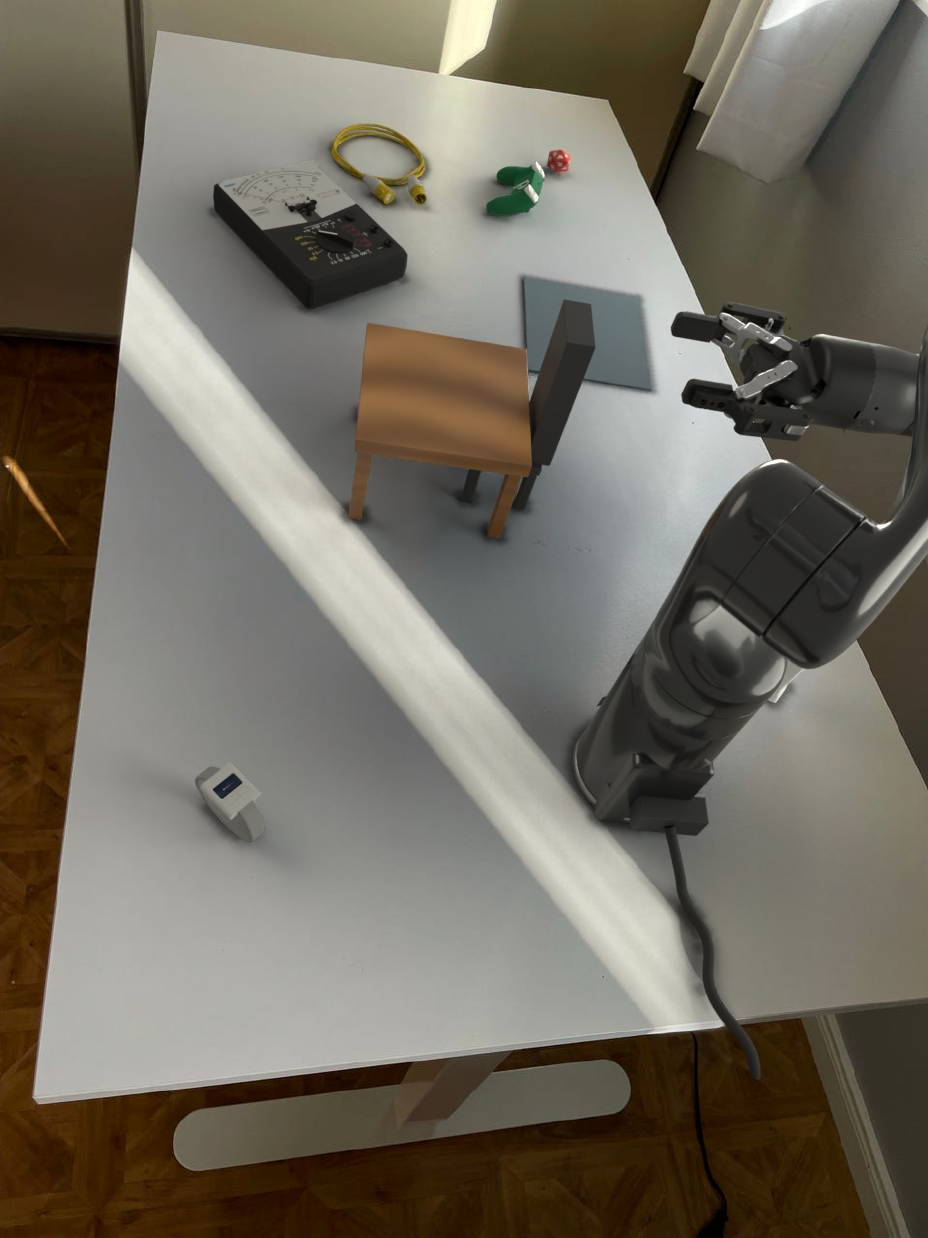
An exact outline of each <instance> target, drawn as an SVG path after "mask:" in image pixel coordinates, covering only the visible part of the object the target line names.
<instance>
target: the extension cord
mask: <svg viewBox="0 0 928 1238" xmlns="http://www.w3.org/2000/svg"><path fill="white" fill-rule="evenodd" d="M357 131H373V132H358V133H354V132H357ZM374 131H375V132H374ZM377 132H378V133H377ZM352 133H353V134H352ZM349 134H350V135H349ZM365 136H372V137H373V136H374V137H378V138H379V137H380V138H384V139H387V140H390V141H394V142H395V143H398V144H400V145H402V146H404V147H406V148H407V149H409V150H410V151H411V152H412V153H414V155H415V156H416V157H417V159H418V160H419V165H418V167H416V168H415V169H413V170H412V171H410V172H409V173H407V174H405V175H404V176H402V177H397V178H389V177H388V178H387V177H381V176H376V175H375V176H374V175H371V174H369V173H363V172H361V171H360V170H358V169H357V168H356V167H354V166H353V165H351V164H350V163H349V161H346V159H344V158H343V157H342V156H341V155H340V154H339V153H338V151H337V148H338V147H339V146H340V145H341V144H342V143H344V142H346V141H347V140H350V139H353V138H357V137H365ZM331 156H332V158H333V160H334V161H335V162H336V163H337V164H338V165H339V166H340V167H341V168H342V169H344V170H345V171H346V172H347V173H348V174H350V175H351V176H353V177H356V178H359V179H362V183H363V184H364V186H365V187H366V188H367V189H368V191H369V192H370V193H371V195H373V196H374V197H376V198H377V199H378V200H379V201H381V202H382V203H383V204H384V205H388V204H390V203H391V202H394V199H395V197H396V195H395V191H394V190H392V189H391V188H390V187H389V186H402V185H405V184H407V192H408V194H409V195H410V197H411V198H412V199H413V202H414V203H415V204H416V205H418V206H421V205H425V203H426V201H427V195H426V193H425V187H424V184H423V183H422V181H420V180H419V179H418V178H420V177H422V175H423V174H424V172H425V170H426V162H425V160H424V157H423V154H422V153H421V150H420V149H419V148H418V147H417V146H416V145H415V144H414V143H413V142H412V141H411V140H410V139H409V138H407V136H405V135H404V134H402V133H400V132H399V131H397V130H394V129H392V128H391V127H387V126H385V125H381V124H377V123H357V124H352V125H349V126H347V127H345V128H343V129H342V130H341V131H340V132H338V133H337V135H336V136H335V138H334V140H333V143H332V148H331Z"/></svg>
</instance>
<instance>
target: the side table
mask: <svg viewBox="0 0 928 1238" xmlns="http://www.w3.org/2000/svg"><path fill="white" fill-rule="evenodd" d="M362 357H363V358H362V366H361V367H362V368H361V377H360V378H361V379H360V388H359V389H360V390H359V397H358V409H357V418H356V429H355V438H354V449H353V452H354V453H356V454H357V456H356V464H355V469H354V476H353V480H352V481H353V482H352V488H351V494H350V495H351V496H350V501H349V507H348V515H347V517H348V519H350V520H351V519H352V520H359V521H360V520H362V518H363V511H364V506H365V500H366V495H367V489H368V484H369V478H370V472H371V467H372V461H373V456H377V457H383V458H384V457H385V458H390V459H398V460H404V461H405V460H406V461H413V462H420V463H425V464H431V465H433V464H434V465H439V466H445V467H446V466H447V467H454V468H459V469H467V470H469V469H473V470H480V471H481V472H486V473H487V472H488V473H494V474H501V475H504V477H503V478H502V479H503V480H502V483H501V485H500V488H499V491H498V493H497V494H498V495H497V498H496V500H495V503H494V505H493V506H494V507H493V510H492V512H491V515H490V519H489V521H488V524H487V528H486V536H487V538H490V539H491V538H492V539H500V538H501V536H502V533H503V530H504V528H505V525H506V522H507V519H508V516H509V515H510V514H509V513H510V511H511V508H512V506H513V504H514V503H513V502H514V501H515V498H516V495H517V492H518V490H519V487H520V484H521V481H522V478H523V477H528V475H529V472H530V469H531V467H532V459H531V435H530V411H529V401H530V392H529V391H530V390H529V387H530V386H529V371H528V364H527V348H522V347H517V346H511V345H505V344H499V343H493V342H486V341H481V340H474V339H470V338H469V339H468V338H463V337H458V336H451V335H445V334H439V333H432V332H428V331H421V330H414V329H409V328H403V327H398V326H389V325H384V324H379V323H371V322H367V324H366V331H365V337H364V348H363V356H362Z"/></svg>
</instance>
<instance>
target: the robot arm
mask: <svg viewBox="0 0 928 1238" xmlns="http://www.w3.org/2000/svg"><path fill="white" fill-rule="evenodd" d="M734 316H736V317H740V318H743V319H742V321H740V320H739V319H737V318H736V317H734ZM787 321H788V316H787V315H786V314H785V313H783V312H780V311H775V310H771V309H766V308H762V307H758V306H753V305H748V304H743V303H740V302H739V303H738V302H735V301H729V300H726V301H724V302H723V304H722V306H721V308H720V311H719V312H718V314H717V315H710V314H704V313H698V312H693V311H688V310H687V311H679V312H678V313H676V314H675V316H674V319H673V321H672V323H671V325H670V333H671V336H672V337H674V338H679V339H685V340H691V341H697V342H702V343H703V342H704V343H708V344H710V343H713V344H714V345H716V346H717V347H719V348H721V349H722V350H724V351H725V352H727V357H728V359H729V360H730V361H732V362H733V363H735V364H736V365H738V366H739V370H740V372H741V374H742V375H743V384H742V385H740V386H737V387H736V388H735V389H734V388H733V384H729V383H724V382H719V381H718V382H717V381H711V380H705V379H699V378H690V379H689V380H687V382H686V384H685V385H684V388H683V389H682V392H681V394H680V396H681V402H682V404H683V405H687V406H691V407H692V408H695V409H700V410H701V409H702V410H706V411H711V412H719V413H723V415H724V416H725V417H726V418H728V419H731V420H732V421H733V423H734V426H733V431H734V432H735V433H736V434H737V435H739V436H745V437H754V438H761V439H770V440H771V439H772V440H781V441H788V442H799V441H800V440H801V438H802V437H803V435H805V433H806V432H807V430H808V429H809V427H810V425H814V426H822V427H827V428H833V429H840V430H845V431H852V432H858V433H865V434H866V433H867V434H886V435H896V436H903V437H909V438H911V439H910V445H909V448H908V449H909V450H908V453H907V454H908V455H907V458H906V463H905V468H904V471H903V474H902V478H901V481H900V484H899V487H898V490H897V492H896V495H895V497H894V500H893V502H892V504H891V506H890V508H889V510H888V513H887V516H886V518H885V519H884V521H882V522H877V521H875V520H873V519H872V518H871V517H868V516H867V514H866V513H864V512H863V511H862V510H861V509H859V508H858V507H856V506H855V505H853V504H852V503H851V502H850V501H848V500H847V499H845V498H844V497H843V496H842V495H840V494H839V493H837V492H836V491H834V490H833V489H832V488H831V487H829V486H828V485H827V484H825V483H824V482H822V481H821V480H820V479H818V478H817V477H816V476H814V475H813V474H812V473H810V472H809V471H808V470H806V469H804V468H803V467H802V466H800V465H799V464H797V463H796V462H793V461H792V460H789V459H785V458H774V459H771V460H769V461H765V462H763V463H761V464H759V465H757V466H756V467H754V468H752V469H750V470H749V471H748V472H747V473H746V474H744V475H743V476H742V477H741V478H740V479H739V480H738V481H737V482H736V483H735V484H733V486H732V487H731V488H730V489H729V491H727V493H726V494H725V496H723V498H722V499H721V501H720V502H719V504H718V505H717V506H716V508H715V509H714V511H713V512H712V513H711V514H710V516H709V518H708V519H707V521H706V523H705V525H704V526H703V528H702V530H701V531H700V533H699V535H698V536H697V538H696V541H695V542H694V545H693V546H692V548H691V550H690V552H689V555H688V556H687V558H686V560H685V562H684V563H683V564H684V565H683V566H682V569H681V570H680V572H679V574H678V576H677V578H676V580H675V582H674V584H672V588H671V589H670V591H669V593H668V595H667V596H666V597H665V600H664V601H663V603H662V604H661V606H660V607H659V610H658V612H657V613H656V616H655V617H654V619H653V621H652V623H651V624H650V626H649V628H648V629H647V631H646V632H645V634H644V636H643V637H642V639H641V640H640V642H639V643H638V645H637V647H635V650H634V651H633V653H632V655H631V656H630V657H629V659H628V661H627V662H626V664H625V665H624V667H623V669H622V671H621V672H620V674H619V675H618V677H617V678H616V680H615V681H614V683H613V685H612V686H611V688H610V689H609V691H608V693H607V695H606V696H605V695H604V696H603V697H601V699H600V700H599V702H598V703H597V705H596V707H598V709H597V710H596V712H595V714H594V715H593V717H592V719H591V720H590V722H589V724H588V725H587V727H585V729H584V730H583V731H582V733H581V734H580V736H579V737H578V739H577V740H576V743H575V745H574V748H573V752H572V760H571V761H572V762H571V765H572V772H573V776H574V780H575V782H576V785H577V787H578V788H579V790H580V792H581V793H582V795H583V797H585V799H586V800H587V801H588V802H589V803H590V804H591V805H592V807H593V811H594V818H595V819H596V820H598V821H607V822H617V823H625V824H630V830H631V831H634V832H635V831H637V832H647V833H659V834H665V838H666V842H667V846H668V851H669V857H670V862H671V865H672V869H673V875H674V880H675V889H676V893H677V898H678V900H679V902H680V905H681V907H682V909H683V911H684V913H685V914H686V916H687V918H688V919H689V920H690V922H691V923H692V925H693V927H694V928H695V930H696V932H697V935H698V937H699V938H700V939H699V940H700V941H701V942H700V943H701V947H702V968H701V969H702V974H701V977H702V983H703V988H704V992H705V994H706V997H707V999H708V1001H709V1003H710V1005H711V1007H712V1009H713V1010H714V1012H715V1014H716V1015H717V1016H718V1017H719V1019H720V1021H721V1022H722V1023H723V1024H724V1026H726V1028H727V1029H728V1030H729V1031H730V1033H731V1034H732V1035H733V1037H734V1038H735V1039H736V1041H737V1042H738V1044H739V1045H740V1047H741V1049H742V1050H743V1052H744V1054H745V1057H746V1061H747V1065H748V1072H749V1074H750V1077H751V1078H752V1079H753V1080H756V1081H757V1080H760V1079H761V1073H762V1072H761V1063H760V1058H759V1054H758V1051H757V1048H756V1047H755V1045H754V1043H753V1041H752V1039H751V1038H750V1036H749V1035H748V1033H747V1031H745V1029H744V1028H743V1027H742V1025H741V1024H740V1023H739V1022H738V1020H736V1019H735V1017H734V1016H733V1014H732V1013H731V1012H730V1011H729V1009H728V1008H727V1007H726V1005H725V1004H724V1002H723V1001H722V999H721V997H720V995H719V992H718V990H717V986H716V984H715V977H714V972H715V971H714V969H715V948H714V941H713V938H712V936H711V933H710V930H709V928H708V926H707V924H706V923H705V921H704V919H703V918H702V916H701V915H700V914H699V912H698V910H697V908H696V906H695V905H694V904H693V902H692V899H691V896H690V893H689V891H688V885H687V877H686V871H685V866H684V862H683V858H682V851H681V848H680V843H679V838H678V835H681V836H690V837H691V836H692V837H696V836H698V835H700V833H701V832H702V831H703V830H704V829H705V828H706V827H707V826H708V825H709V824H710V821H709V814H708V809H707V808H708V807H707V801H706V797H705V796H697V795H698V793H700V792H701V790H702V789H703V788H704V787H705V786H706V785H707V784H708V782H709V781H710V780H711V779H712V778H713V777H714V775H715V768H714V767H715V766H714V761H715V760H716V759H717V758H718V757H719V755H720V754H721V753H722V752H723V751H724V750H725V748H727V746H728V745H729V744H730V743H731V742H732V741H733V740H734V738H735V737H736V736H737V735H738V734H739V732H741V731H742V729H743V728H744V727H745V726H746V725H747V724H748V723H749V722H750V720H751V719H752V718H753V717H754V716H755V715H756V714H757V712H758V711H759V710H760V709H761V708H762V707H763V706H764V705H765V704H766V703H767V702H769V701H768V700H769V698H770V697H771V696H772V695H773V694H774V693H775V691H776V690H777V689H778V687H779V686H780V684H781V682H782V680H783V678H784V675H785V672H786V669H787V662H788V660H789V661H790V662H791V663H793V664H795V665H796V666H798V667H800V668H803V669H804V670H815V669H818V668H821V667H823V666H826V665H827V664H829V663H831V662H833V661H834V660H835V659H836V658H838V657H839V656H841V655H842V654H843V653H844V652H845V651H847V649H848V648H849V647H851V646H852V645H853V644H854V643H855V642H856V641H857V640H858V639H859V638H860V637H861V636H862V635H863V634H864V633H865V632H866V631H867V630H868V629H869V627H870V626H871V625H872V624H873V622H875V621H876V619H877V618H878V617H879V615H881V613H882V612H883V611H884V610H885V608H886V607H887V606H888V605H889V604H890V602H891V601H892V600H893V598H894V597H895V596H896V595H897V593H898V592H899V591H900V589H901V588H902V587H903V585H904V584H905V583H906V582H907V581H908V580H909V578H910V577H911V576H912V575H913V573H914V572H915V570H916V569H917V568H918V566H919V565H920V564H921V563H922V561H923V560H924V559H925V558H926V557H927V555H928V324H927V325H926V327H925V330H924V333H923V336H922V340H921V344H920V349H919V353H913V352H910V351H907V350H904V349H901V348H898V347H894V346H891V345H885V344H881V343H876V342H875V343H874V342H869V341H863V340H856V339H851V338H848V337H847V338H846V337H841V336H835V335H830V334H824V333H820V334H815V335H813V336H811V337H809V338H807V339H805V340H801V341H798V340H795V339H793V338H791V337H789V336H787V335H785V333H784V326H785V325H786V323H787ZM726 334H729V335H733V336H736V339H735V340H733V339H732V338H730V337H729V336H727V335H726ZM749 339H752V340H753V341H755V342H754V343H751V345H749V346H748V348H747V349H746V351H745V347H746V345H747V342H749ZM756 419H757V420H763V421H762V422H755V420H756Z"/></svg>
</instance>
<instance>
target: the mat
mask: <svg viewBox="0 0 928 1238" xmlns="http://www.w3.org/2000/svg"><path fill="white" fill-rule="evenodd" d="M523 289H524V290H523V291H524V293H523V294H524V315H525V316H524V317H525V336H526V337H525V339H526V341H525V342H526V349H527V364H528V372H532V373H533V372H534V373H539V371H540V369H541V366H542V363H543V360H544V357H545V354H546V351H547V348H548V345H549V342H550V339H551V336H552V333H553V330H554V327H555V324H556V321H557V318H558V315H559V312H560V309H561V306H562V303H563V300H564V299H566V300H572V301H578V302H583V303H589V304H591V306H592V316H593V326H594V335H595V345H596V348H595V350H594V353H593V356H592V358H591V361H590V363H589V366H588V369H587V371H586V374H585V376H584V379H583V381H589V382H595V383H601V384H609V385H613V386H614V385H615V386H620V387H625V388H632V389H639V390H644V391H652V389H653V388H652V383H651V375H650V369H649V362H648V355H647V349H646V340H645V334H644V327H643V321H642V320H643V319H642V313H641V307H640V299H639V297H638V296H633V295H627V294H622V293H616V292H610V291H605V290H598V289H593V288H589V287H584V286H583V287H582V286H578V285H577V286H576V285H571V284H567V283H561V282H553V281H549V280H544V279H537V278H532V277H526V276H523Z"/></svg>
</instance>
